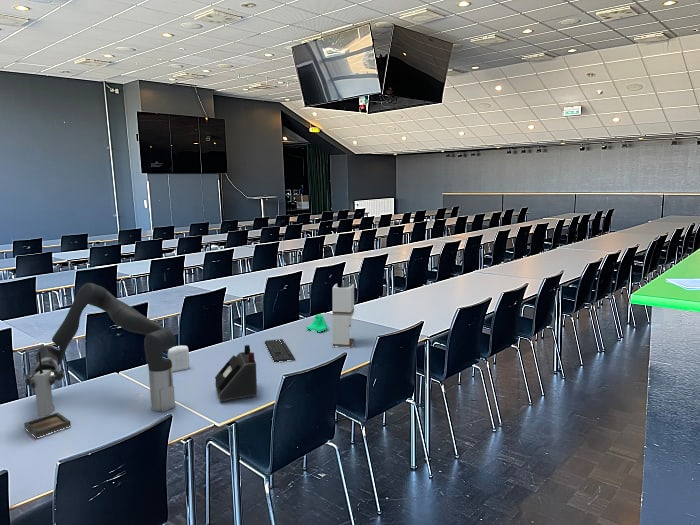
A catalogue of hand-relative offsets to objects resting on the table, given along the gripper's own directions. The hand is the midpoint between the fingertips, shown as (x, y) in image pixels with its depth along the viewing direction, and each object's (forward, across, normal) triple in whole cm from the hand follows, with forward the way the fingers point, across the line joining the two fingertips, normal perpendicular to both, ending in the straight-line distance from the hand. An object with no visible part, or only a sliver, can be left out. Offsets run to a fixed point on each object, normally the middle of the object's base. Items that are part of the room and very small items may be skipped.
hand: (42, 384), depth 189 cm
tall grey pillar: (-42, +146, +20) cm, 153 cm away
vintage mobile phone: (-3, 0, +13) cm, 13 cm away
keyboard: (-48, +108, +20) cm, 120 cm away
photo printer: (-44, +54, +20) cm, 73 cm away
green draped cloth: (-75, +143, +20) cm, 162 cm away
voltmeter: (-2, +73, +19) cm, 76 cm away
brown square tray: (-2, 0, +19) cm, 19 cm away
